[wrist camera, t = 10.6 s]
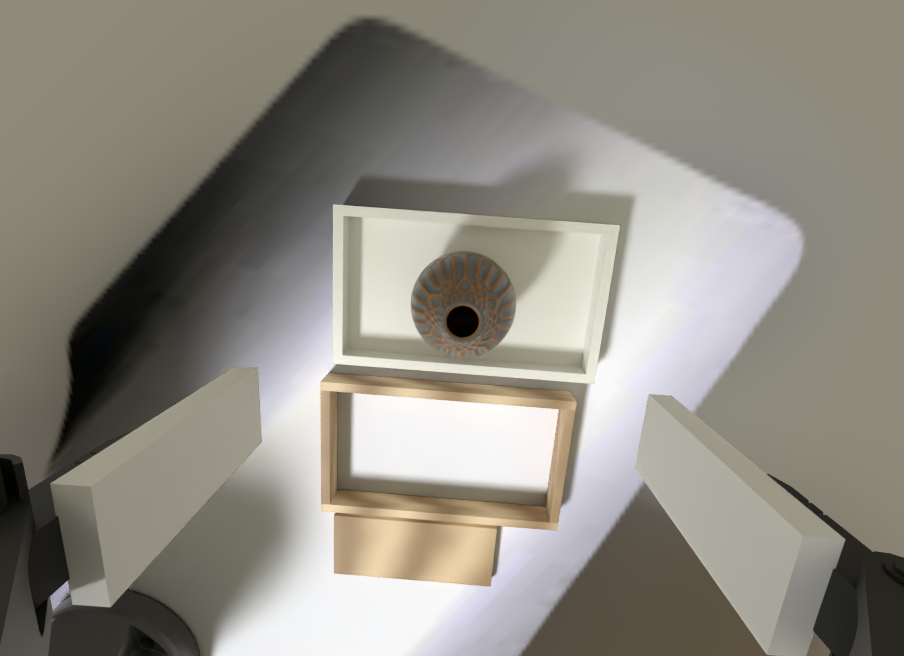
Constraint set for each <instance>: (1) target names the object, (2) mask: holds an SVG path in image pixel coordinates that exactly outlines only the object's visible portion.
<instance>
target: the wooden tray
mask: <svg viewBox="0 0 904 656" xmlns="http://www.w3.org/2000/svg"><path fill="white" fill-rule="evenodd" d="M337 392H348V393H361V394H373V395H386V396H399V397H412V398H424V399H437V400H450V401H462V402H475V403H488V404H501V405H513V406H526V407H539V408H552V409H559V414H558V421H557V428H556V434H555V441H554V448H553V455H552V462H551V469H550V476H549V483H548V490H547V497H546V504H545V507H544V506H531V505H519V504H507V503H495V502H482V501H470V500H458V499H446V498H434V497H421V496H409V495H397V494H385V493H372V492H360V491H348V490H337ZM576 405H577V401H576V399H575V398H574V396H573V395H572V393H571V391H558V390H546V389H533V388H520V387H507V386H494V385H481V384H469V383H456V382H443V381H430V380H417V379H404V378H391V377H379V376H366V375H353V374H340V373H328V374H327V375H326V376H325V377H324V379H323V380H322V381H321V511H325V512H337V513H349V514H361V515H373V516H385V517H397V518H410V519H422V520H434V521H446V522H458V523H470V524H482V525H494V526H507V527H519V528H531V529H543V530H555V531H557V528H558V521H559V515H560V508H561V502H562V495H563V489H564V482H565V476H566V469H567V463H568V456H569V450H570V443H571V437H572V430H573V424H574V417H575V411H576Z"/></svg>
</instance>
